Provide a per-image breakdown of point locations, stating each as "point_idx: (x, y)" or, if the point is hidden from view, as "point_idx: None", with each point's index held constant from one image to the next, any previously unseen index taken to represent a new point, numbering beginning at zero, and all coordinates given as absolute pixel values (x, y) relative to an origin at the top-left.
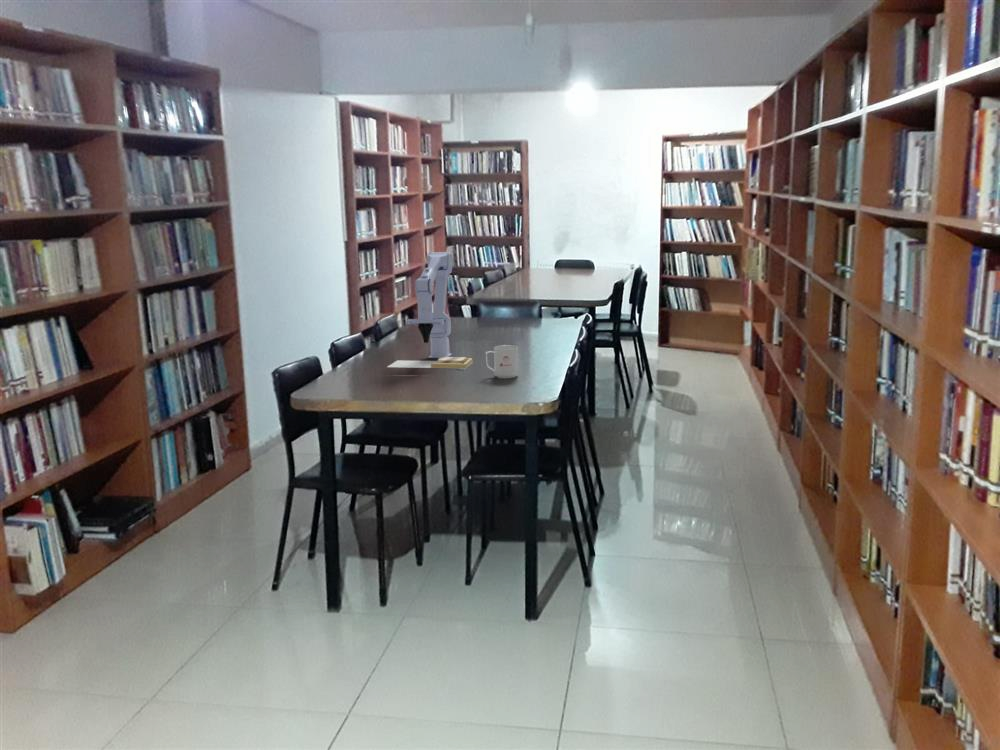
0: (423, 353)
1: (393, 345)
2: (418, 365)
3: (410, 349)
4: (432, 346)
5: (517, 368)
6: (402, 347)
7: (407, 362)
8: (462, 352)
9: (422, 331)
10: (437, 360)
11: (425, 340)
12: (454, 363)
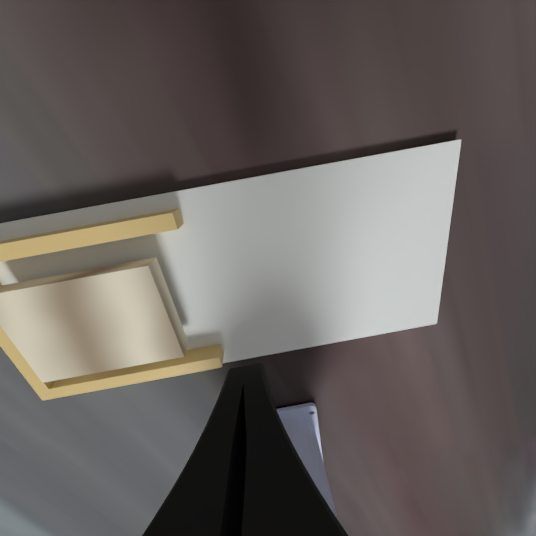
0: (368, 460)
1: (499, 509)
2: (281, 239)
3: (432, 488)
4: (308, 468)
5: None
6: (466, 499)
7: (372, 294)
8: None
9: (275, 504)
10: (148, 265)
11: (243, 382)
12: (46, 278)
